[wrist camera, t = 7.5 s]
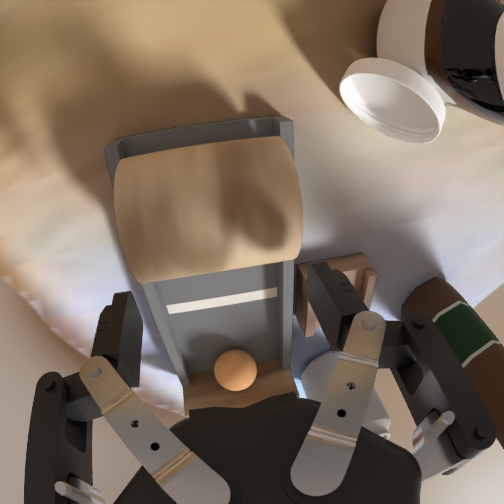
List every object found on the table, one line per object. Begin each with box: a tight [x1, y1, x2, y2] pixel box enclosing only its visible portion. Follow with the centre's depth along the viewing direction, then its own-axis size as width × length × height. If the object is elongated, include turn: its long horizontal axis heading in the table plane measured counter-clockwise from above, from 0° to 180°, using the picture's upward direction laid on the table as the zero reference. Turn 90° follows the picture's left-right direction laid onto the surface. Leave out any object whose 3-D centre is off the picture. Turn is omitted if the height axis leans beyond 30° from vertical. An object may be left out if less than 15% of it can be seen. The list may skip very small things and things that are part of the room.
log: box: [114, 136, 303, 284], centre depth 17 cm, size 7×8×7 cm
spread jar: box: [339, 0, 504, 144], centre depth 13 cm, size 12×11×12 cm
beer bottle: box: [402, 278, 504, 449], centre depth 22 cm, size 8×8×24 cm
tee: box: [296, 253, 377, 338], centre depth 26 cm, size 6×6×3 cm
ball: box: [214, 350, 257, 391], centre depth 28 cm, size 4×4×4 cm
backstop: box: [183, 359, 299, 418], centre depth 29 cm, size 2×11×6 cm, turn 94°
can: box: [301, 350, 391, 440], centre depth 30 cm, size 8×8×12 cm
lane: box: [104, 116, 294, 387], centre depth 24 cm, size 23×11×2 cm, turn 4°
